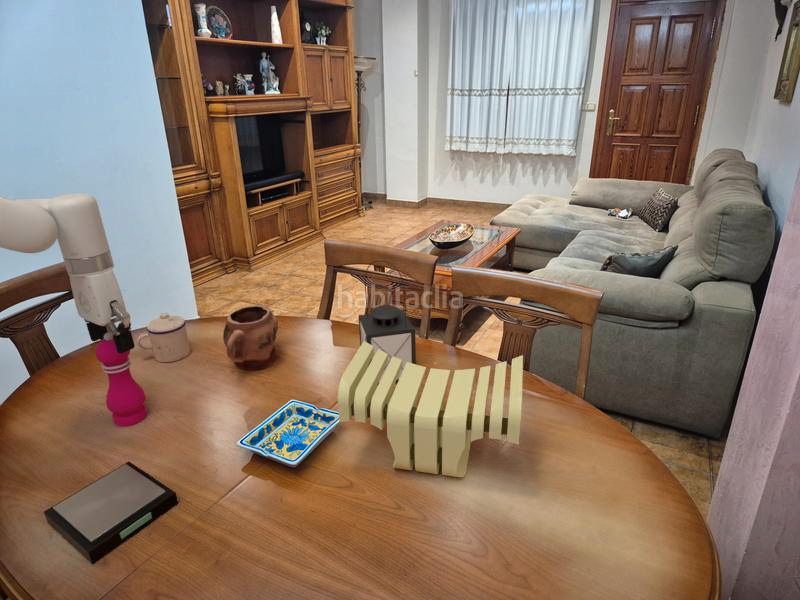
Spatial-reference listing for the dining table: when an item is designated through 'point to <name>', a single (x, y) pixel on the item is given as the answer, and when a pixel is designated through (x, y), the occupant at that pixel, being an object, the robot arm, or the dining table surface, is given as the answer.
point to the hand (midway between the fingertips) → (113, 344)
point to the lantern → (389, 332)
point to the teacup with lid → (167, 338)
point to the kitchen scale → (110, 510)
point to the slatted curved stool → (429, 409)
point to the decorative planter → (251, 337)
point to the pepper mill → (121, 384)
